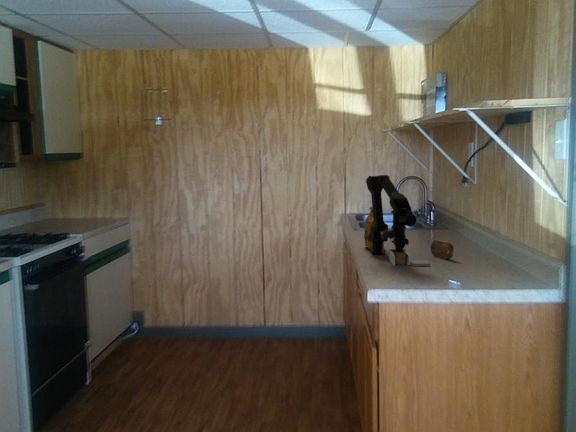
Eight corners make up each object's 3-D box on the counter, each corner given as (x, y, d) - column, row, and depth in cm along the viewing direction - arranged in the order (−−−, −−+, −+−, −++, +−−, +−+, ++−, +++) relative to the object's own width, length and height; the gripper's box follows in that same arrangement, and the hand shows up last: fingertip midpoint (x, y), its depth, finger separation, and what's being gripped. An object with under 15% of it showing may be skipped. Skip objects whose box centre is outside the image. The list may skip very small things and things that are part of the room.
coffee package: (366, 250, 289) (367, 208, 286) (362, 246, 301) (363, 206, 299) (385, 250, 289) (386, 208, 287) (381, 246, 302) (381, 206, 299)
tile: (409, 262, 259) (409, 260, 259) (426, 262, 259) (426, 260, 259) (412, 266, 251) (412, 263, 251) (430, 266, 251) (430, 263, 251)
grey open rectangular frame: (389, 259, 266) (389, 249, 266) (405, 259, 266) (405, 249, 266) (393, 265, 254) (393, 254, 253) (410, 265, 253) (410, 254, 253)
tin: (430, 255, 277) (430, 238, 276) (435, 254, 278) (435, 238, 277) (448, 261, 263) (449, 243, 262) (454, 260, 264) (455, 243, 263)
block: (395, 262, 260) (395, 251, 259) (403, 262, 260) (403, 251, 259) (396, 264, 256) (396, 253, 255) (405, 264, 256) (405, 253, 255)
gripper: (379, 221, 270) (378, 252, 272) (384, 226, 252) (383, 260, 254) (402, 221, 270) (401, 252, 272) (409, 226, 251) (408, 260, 253)
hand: (398, 256), depth 263 cm, fingers closed
